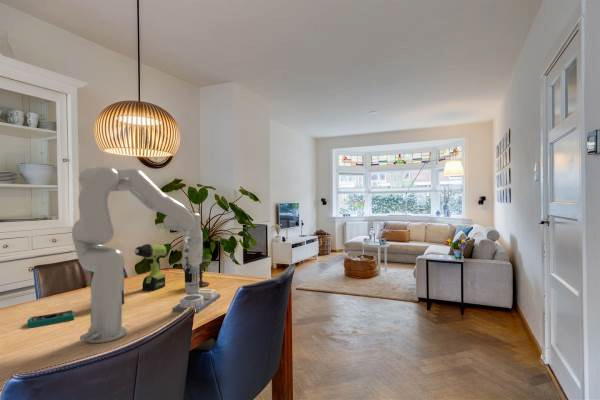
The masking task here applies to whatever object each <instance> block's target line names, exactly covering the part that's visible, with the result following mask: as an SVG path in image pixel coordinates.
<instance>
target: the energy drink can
mask: <svg viewBox="0 0 600 400" xmlns="http://www.w3.org/2000/svg"><path fill="white" fill-rule="evenodd" d="M187 266H190V265H187ZM199 267H200V266H199V263H198V264H197V265H196V266H194V267H192V270H191V273H192V282H185V281H184V292H185V294H186V296H187V295H194V294H197V293H198V291H199V289H200V287H199V281H200V277H199V271H200V269H199ZM188 269H189V268H188Z"/></svg>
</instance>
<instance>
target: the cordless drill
mask: <svg viewBox="0 0 600 400" xmlns="http://www.w3.org/2000/svg"><path fill="white" fill-rule="evenodd" d="M133 252H134V253H135V256H138V257H142V258H144V259H146V260H147V264H149V265H150V273H149V274H148V275H146V276H145V277H144V278H143V281H142V291H144V292H145V291H148V292H155V291H157V290H160V289H162V288H165V287H166V273H164V272H162V271H161V264H160V263H161V262H160V258H161V257H165V256H166V255H167V247H166V246H165V245H163V244H154V243H153V244H152V243H151V244H149V243H146V244H143V245H141V246H137V247H136V248H135V250H134V251H133Z"/></svg>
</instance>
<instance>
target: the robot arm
mask: <svg viewBox="0 0 600 400" xmlns="http://www.w3.org/2000/svg"><path fill="white" fill-rule="evenodd" d="M78 182H79V185H80V186H81V190H80V192H79V196H78V201H77V202H78V204H77V205H78V210H79V214H80V218H79V219H78V220H76V221H75V223H74V224H73V226H72V227H71V228H72V229H71V238H72V242H73V245H74V250H75V252H76V255H77V259H78V262H79V264H80V266H81V267H82V268H83V269H84V270H85V271H86V270H87V271H88V272H89V271H90V272H93V276H92V279H91V282H92V283H91V282H90V326H89V327H88V331H87V332H86V333H83V334H81V335H80V336H79V340H80V341H81V342H84V341H86V342H87V343H89V344H90V343H92V344H100V343H107V342H112V341H115V340H118V339H120V338H122V337H124V336H125V335H126V334H127V330H128V329H127V328H126V327H125V326H123V323H122V322H123V321H122V319H123V317H122V316H123V313H122V312H123V309H122V308H123V307H122V306H123V304H122V274H123V271H124V268H125V262H126V261H125V256H124V255H125V254H124V253H123V252H122V251H121V249H118V248H116V247H114V246H108V245H105V244H107V243H110V242H111V241H112V239H113V238H114V235H115V230H114V229H115V228H114V225H113V221H112V218H111V214H110V210H109V209H110V208H109V205H108V204H109V203H108V200H109V196H110V194H111V192H129V193H130V194H132V195H133V196H134V197H135V198H136V199H137V200H138V201H139V202H141V204H143V205H144V206H145V207H146V208H147V209H149V210H151V211H153V212H157V213H161V214H163V215H165V217H164V218H163V225H164V226H165V228H166V229H168V230H170V231H178V232H179V231H181V232H182V240H183V241H182V243H183V244H182V245H183V247H182V248H183V249H182V266H181V268H182V270H183V273H184V283H185V282H192V273H191V270H192V267H194V266H196V265H197V264H198V263H199V270H200V264H201V263H202V249H201V231H202V229H201V225H202V224H201V220H202V219H201V214H200V213H197V212H191V211H190V210H189V209H188V208H187V207H186V206H184V205H183V204H182V203H180V202H179V201H178V200H176V199H174V198H172V197H171V196H170V195H168V194H166V193H164V191H162V190H161V189H160V188H159V187H158V186H157V185H156V184H155V183H154V182H153V181H152V180H151V179H150V178H149V177H148V176H147V175H146V174H145V173H144V171H142V170H140V169H137V168H125V169H115V168H114V167H111V166H104V165H103V166H97V167H89V168H86V169H84V170H82V171H81V172H80V173H79V176H78ZM187 265H190V266H187ZM188 268H189V269H188Z"/></svg>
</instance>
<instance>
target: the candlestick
mask: <svg viewBox="0 0 600 400" xmlns="http://www.w3.org/2000/svg"><path fill="white" fill-rule="evenodd" d="M202 229H203V224H201V249H202V263H201V264H200V266H199V267H200V269H199V288H206V287H208V286H210V282H208V281H203V277H204V276H203V274H204V271H203V265H204V264H208V263H211V262H212V261H211V258H203V257H204V256H205V254H204V255H203V246H204V245H203V243H204V242H203V231H202Z"/></svg>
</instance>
